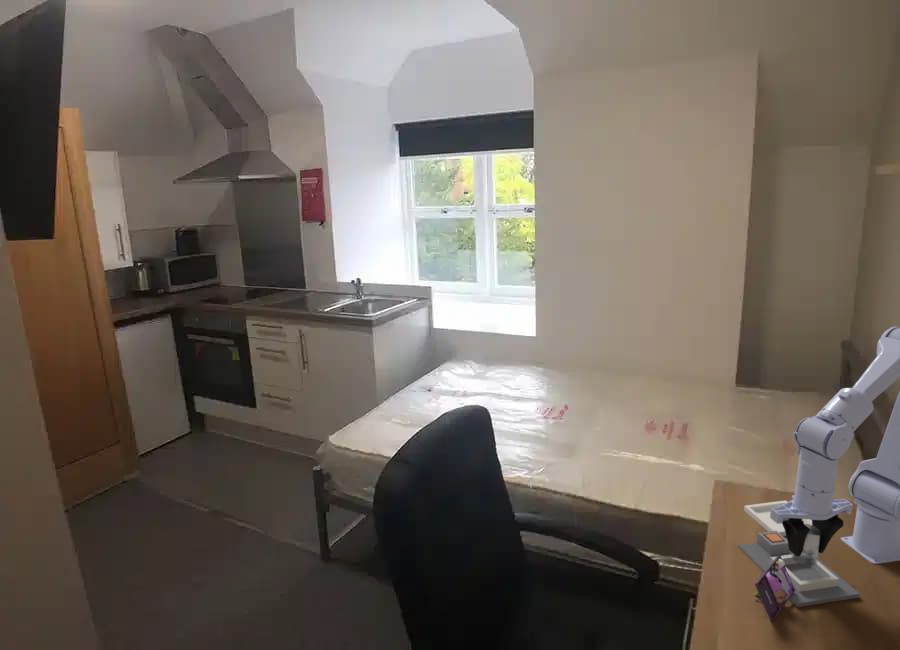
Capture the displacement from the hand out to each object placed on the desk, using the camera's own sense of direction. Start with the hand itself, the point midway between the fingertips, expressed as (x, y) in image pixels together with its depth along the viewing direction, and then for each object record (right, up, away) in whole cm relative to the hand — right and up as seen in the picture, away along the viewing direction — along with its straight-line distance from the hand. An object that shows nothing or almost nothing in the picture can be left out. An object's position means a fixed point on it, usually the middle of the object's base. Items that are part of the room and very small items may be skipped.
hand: (805, 551), depth 105 cm
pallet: (0, -5, +3) cm, 6 cm away
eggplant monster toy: (-9, -7, -4) cm, 12 cm away
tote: (+6, -1, +18) cm, 19 cm away
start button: (-1, -2, +9) cm, 9 cm away
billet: (0, -2, +1) cm, 2 cm away
